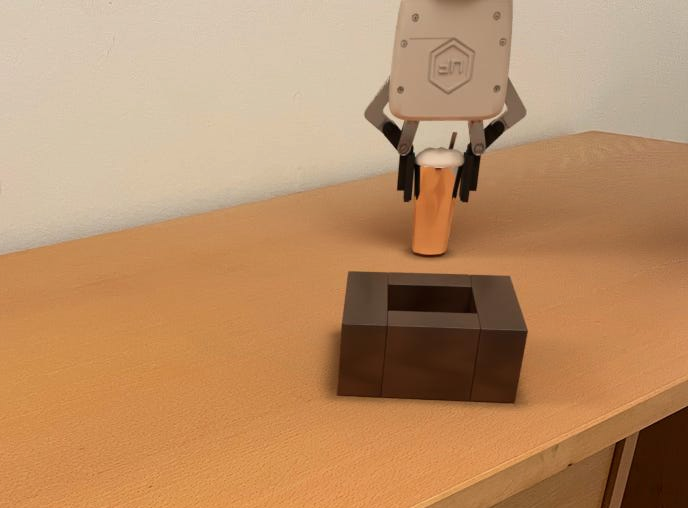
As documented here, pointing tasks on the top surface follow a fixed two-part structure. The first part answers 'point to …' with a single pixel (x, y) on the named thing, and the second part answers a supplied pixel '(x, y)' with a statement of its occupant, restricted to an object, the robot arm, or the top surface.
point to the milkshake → (435, 197)
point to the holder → (431, 337)
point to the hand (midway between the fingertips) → (435, 197)
